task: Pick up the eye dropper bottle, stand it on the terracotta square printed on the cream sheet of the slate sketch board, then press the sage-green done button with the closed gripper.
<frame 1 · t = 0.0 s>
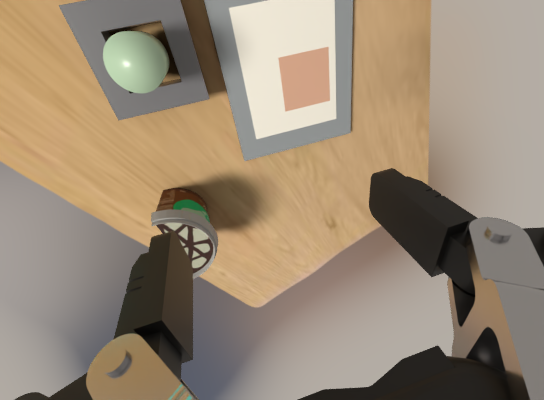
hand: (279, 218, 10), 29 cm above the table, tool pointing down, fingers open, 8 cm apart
food container: (194, 205, 43), on the table
sketch board: (289, 71, 35), on the table
button housing: (148, 56, 30), on the table
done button: (140, 61, 26), point 6 cm above the table, slide at 0.0 cm
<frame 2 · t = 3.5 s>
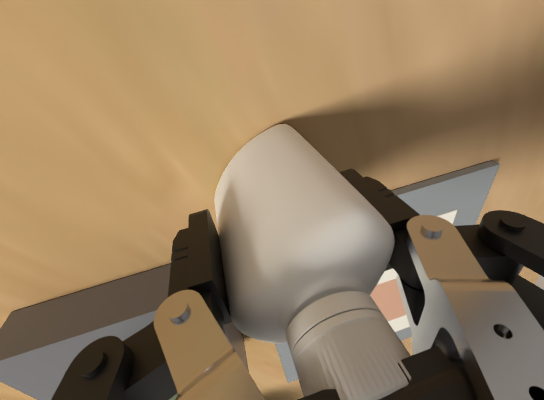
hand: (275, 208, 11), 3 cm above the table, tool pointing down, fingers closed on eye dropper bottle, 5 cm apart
sketch board: (365, 294, 23), on the table
button housing: (151, 328, 18), on the table
eye dropper bottle: (258, 169, 14), on the table, touching gripper
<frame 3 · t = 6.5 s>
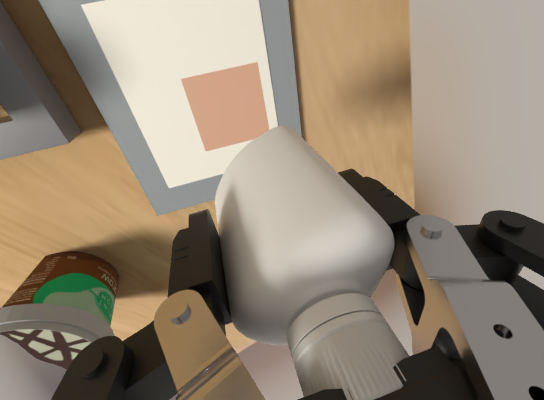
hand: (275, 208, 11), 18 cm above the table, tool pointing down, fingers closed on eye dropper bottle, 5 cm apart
food container: (98, 270, 32), on the table
sketch board: (204, 97, 24), on the table
eye dropper bottle: (259, 170, 14), point 14 cm above the table, touching gripper
when the fingers open (5 cm above the table, at t = 9.6 s): eye dropper bottle stays where it is, resting on sketch board.
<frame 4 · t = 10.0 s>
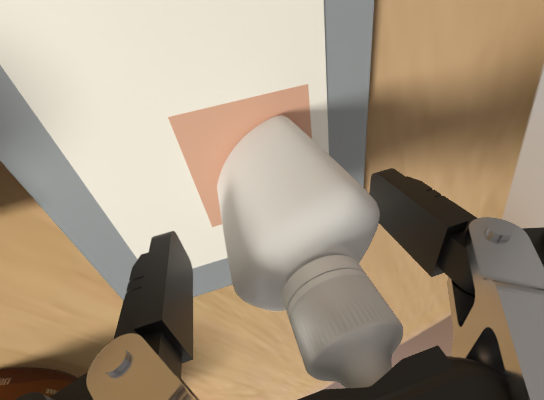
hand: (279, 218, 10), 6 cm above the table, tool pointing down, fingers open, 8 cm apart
food container: (52, 382, 22), on the table
sketch board: (211, 143, 14), on the table
eye dropper bottle: (258, 159, 15), point 1 cm above the table, touching sketch board
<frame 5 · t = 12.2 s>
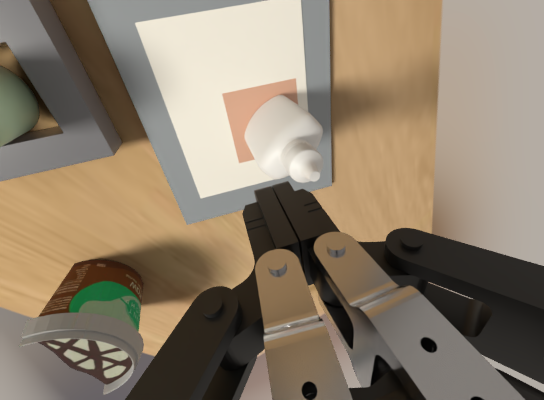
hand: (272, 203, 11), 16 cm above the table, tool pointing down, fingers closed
food container: (124, 277, 32), on the table
sketch board: (241, 110, 25), on the table
button housing: (15, 92, 20), on the table
eye dropper bottle: (267, 121, 25), point 1 cm above the table, touching sketch board
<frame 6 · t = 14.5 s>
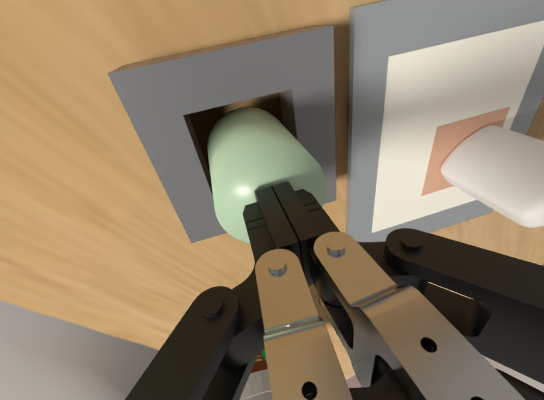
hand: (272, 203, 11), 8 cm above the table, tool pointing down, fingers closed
food container: (267, 311, 31), on the table
sketch board: (440, 141, 23), on the table
button housing: (242, 135, 18), on the table
eye dropper bottle: (463, 152, 23), point 1 cm above the table, touching sketch board
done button: (258, 170, 13), point 5 cm above the table, slide at 0.3 cm, touching gripper
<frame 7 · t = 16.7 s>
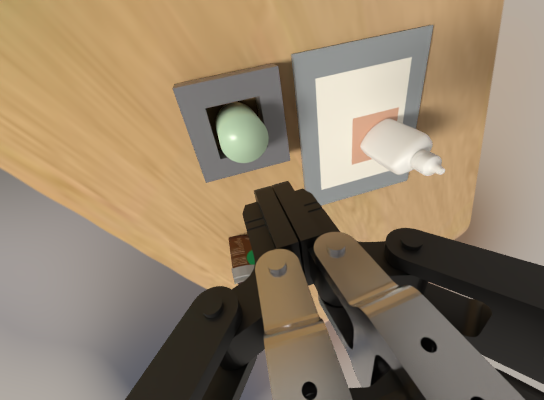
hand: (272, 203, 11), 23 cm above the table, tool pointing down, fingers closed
food container: (254, 250, 44), on the table
sketch board: (359, 128, 36), on the table
button housing: (235, 122, 31), on the table
eye dropper bottle: (375, 135, 37), point 1 cm above the table, touching sketch board
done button: (240, 131, 28), point 4 cm above the table, slide at 1.7 cm
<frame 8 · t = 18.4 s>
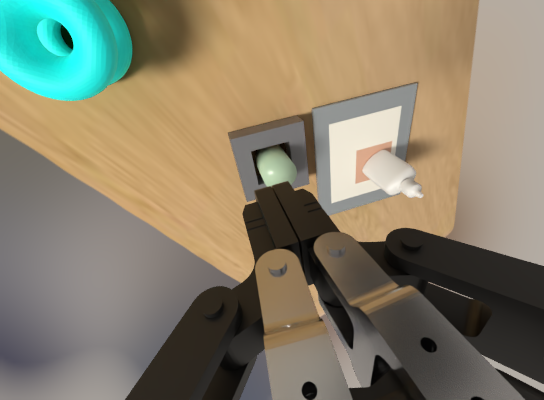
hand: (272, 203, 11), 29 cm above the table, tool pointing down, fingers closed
sketch board: (361, 157, 47), on the table
button housing: (268, 156, 42), on the table
eye dropper bottle: (374, 161, 47), point 1 cm above the table, touching sketch board
donuts: (85, 36, 29), on the table
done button: (274, 166, 39), point 4 cm above the table, slide at 1.7 cm
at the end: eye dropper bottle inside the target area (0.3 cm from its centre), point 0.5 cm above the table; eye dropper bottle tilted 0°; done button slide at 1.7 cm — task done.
